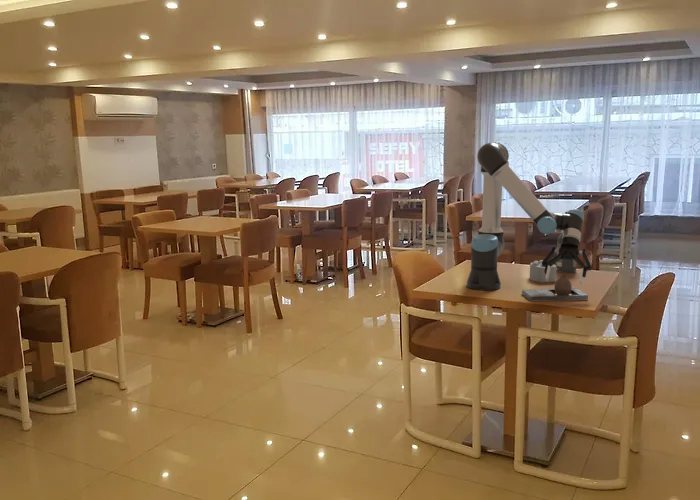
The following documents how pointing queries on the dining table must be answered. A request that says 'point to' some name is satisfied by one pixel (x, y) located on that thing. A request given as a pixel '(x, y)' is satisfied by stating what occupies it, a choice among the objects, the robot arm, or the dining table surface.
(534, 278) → the lumpy-topped squat cylinder
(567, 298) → the grey slab with opening
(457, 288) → the dining table surface
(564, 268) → the liquor
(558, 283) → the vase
